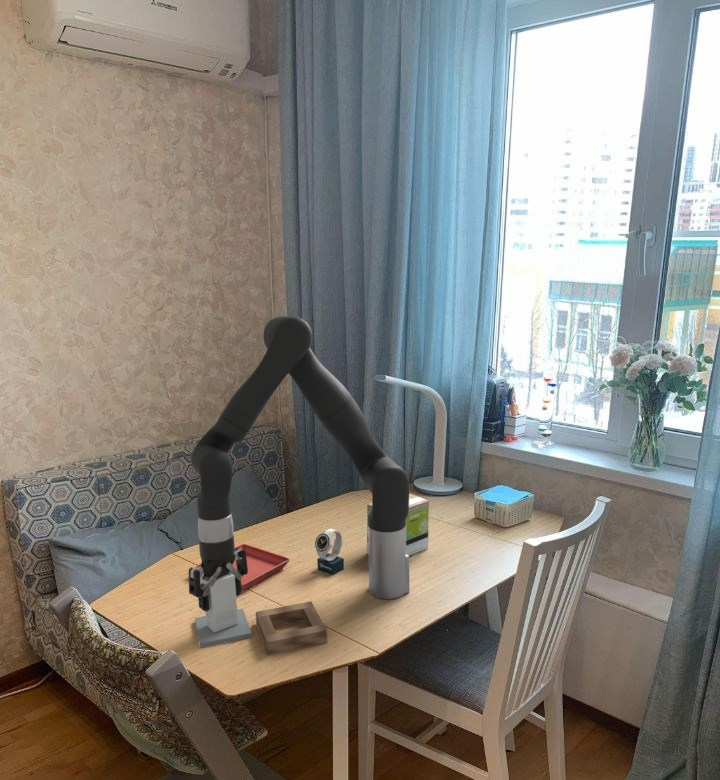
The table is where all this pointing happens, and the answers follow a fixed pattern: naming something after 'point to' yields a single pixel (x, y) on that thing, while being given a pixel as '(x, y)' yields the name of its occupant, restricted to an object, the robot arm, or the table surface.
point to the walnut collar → (294, 638)
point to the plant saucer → (259, 565)
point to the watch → (327, 560)
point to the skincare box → (222, 603)
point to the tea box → (413, 524)
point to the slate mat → (222, 631)
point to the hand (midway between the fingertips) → (220, 602)
